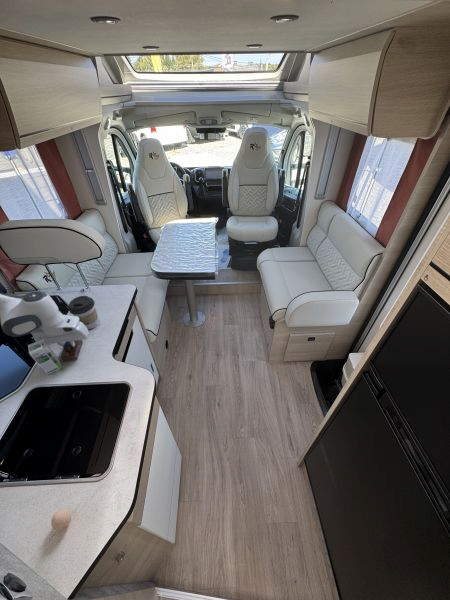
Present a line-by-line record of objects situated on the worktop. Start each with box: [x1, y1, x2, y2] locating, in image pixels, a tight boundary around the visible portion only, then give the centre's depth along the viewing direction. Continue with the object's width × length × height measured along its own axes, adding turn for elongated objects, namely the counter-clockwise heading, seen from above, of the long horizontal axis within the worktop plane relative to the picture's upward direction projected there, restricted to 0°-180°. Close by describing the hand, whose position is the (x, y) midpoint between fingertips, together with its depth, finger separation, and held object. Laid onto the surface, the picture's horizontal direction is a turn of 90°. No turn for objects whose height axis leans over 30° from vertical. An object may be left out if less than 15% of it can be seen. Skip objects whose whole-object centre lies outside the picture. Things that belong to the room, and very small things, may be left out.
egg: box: [50, 508, 72, 531], centre depth 69 cm, size 4×4×6 cm
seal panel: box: [59, 340, 84, 363], centre depth 114 cm, size 10×9×3 cm
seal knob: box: [62, 341, 72, 352], centre depth 111 cm, size 5×2×4 cm, turn 9°
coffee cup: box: [67, 295, 100, 330], centre depth 122 cm, size 11×11×15 cm
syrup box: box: [27, 339, 63, 376], centre depth 104 cm, size 6×6×14 cm
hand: (69, 346), depth 112 cm, fingers closed on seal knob, 2 cm apart
